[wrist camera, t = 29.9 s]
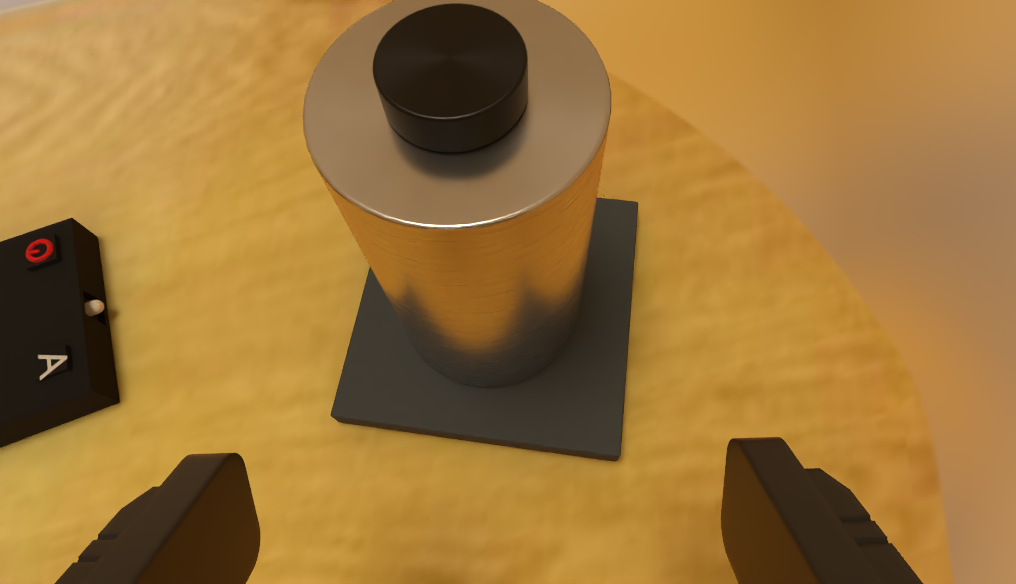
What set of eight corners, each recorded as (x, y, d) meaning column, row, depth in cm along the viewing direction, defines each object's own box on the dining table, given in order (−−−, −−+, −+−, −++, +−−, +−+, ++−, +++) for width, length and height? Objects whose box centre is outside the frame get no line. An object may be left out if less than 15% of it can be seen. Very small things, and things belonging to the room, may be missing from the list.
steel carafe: (585, 238, 24) (629, -47, 13) (568, 399, 21) (602, 218, 10) (424, 220, 24) (332, -65, 13) (387, 375, 22) (237, 180, 11)
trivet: (634, 214, 25) (638, 201, 24) (616, 461, 21) (620, 457, 20) (398, 190, 26) (393, 176, 25) (338, 422, 22) (329, 416, 21)
